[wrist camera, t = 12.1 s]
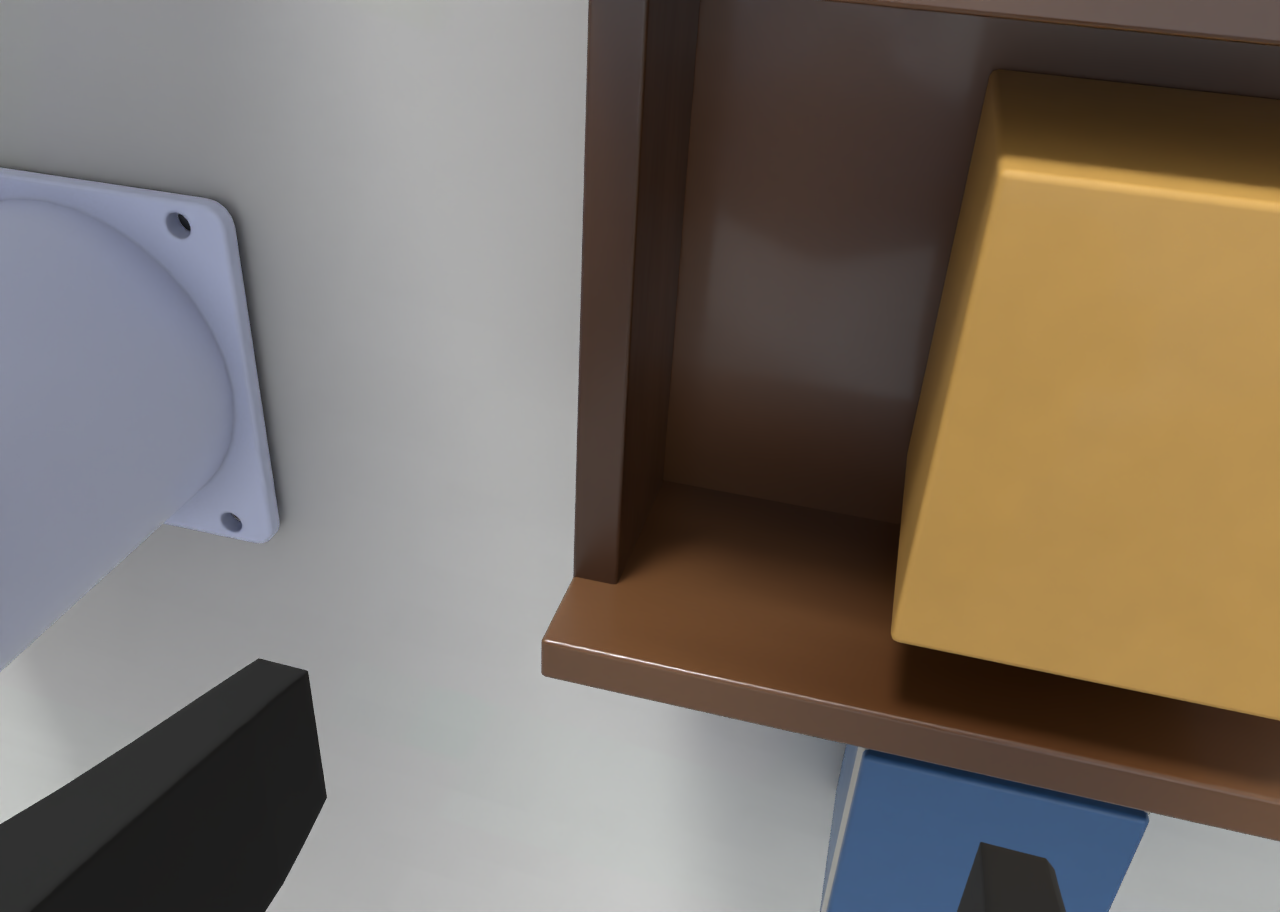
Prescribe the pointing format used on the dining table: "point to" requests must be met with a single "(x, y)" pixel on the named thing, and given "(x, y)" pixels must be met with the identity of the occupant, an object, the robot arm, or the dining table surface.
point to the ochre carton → (1106, 397)
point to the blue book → (962, 836)
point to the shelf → (833, 377)
